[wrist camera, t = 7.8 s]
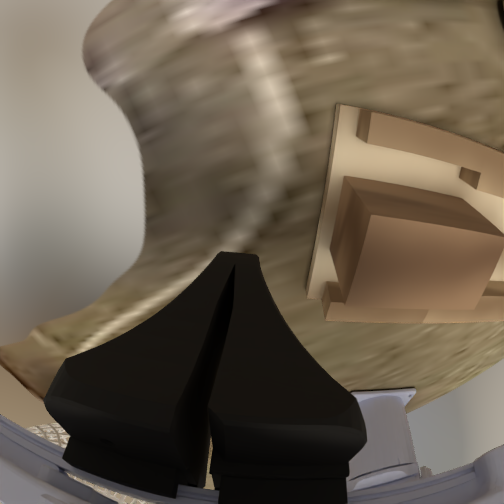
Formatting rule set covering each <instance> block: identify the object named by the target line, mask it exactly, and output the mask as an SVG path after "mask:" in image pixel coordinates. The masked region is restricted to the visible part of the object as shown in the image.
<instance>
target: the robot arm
mask: <svg viewBox="0 0 504 504" xmlns="http://www.w3.org/2000/svg"><path fill="white" fill-rule="evenodd" d="M415 393H416V389H415V388H410V389H398V390H384V391H364V392H352V393H350V392H348V391H347V390H346V389H345V388H344V387H342V386H341V385H340V384H339V383H338V382H337V381H335V380H334V379H333V378H332V377H331V376H330V375H329V374H328V373H327V372H326V371H325V370H324V369H323V368H322V367H321V366H320V365H319V364H318V363H317V362H316V361H315V359H314V358H313V357H312V356H311V355H310V354H309V352H308V351H307V350H306V349H305V348H304V347H303V345H302V344H301V343H300V342H299V340H298V339H297V338H296V336H295V335H294V334H293V332H292V331H291V329H290V328H289V326H288V325H287V323H286V322H285V320H284V318H283V317H282V315H281V313H280V312H279V310H278V308H277V306H276V304H275V302H274V300H273V298H272V296H271V294H270V292H269V289H268V287H267V285H266V282H265V280H264V277H263V274H262V271H261V267H260V262H259V257H258V256H257V255H256V254H245V253H234V252H223V251H221V252H219V253H218V254H217V255H216V257H215V258H214V259H213V260H212V261H211V263H210V264H209V265H208V266H207V267H206V268H205V270H204V271H203V272H202V273H201V274H200V275H199V276H198V277H197V278H196V279H195V280H194V281H193V282H192V283H191V284H190V285H189V286H188V287H187V288H186V289H185V290H184V291H183V292H182V293H181V294H179V295H178V296H177V297H176V298H175V299H174V300H173V301H171V302H170V303H169V304H168V305H167V306H165V307H164V308H163V309H161V310H160V311H159V312H157V313H156V314H155V315H153V316H152V317H150V318H149V319H147V320H146V321H144V322H143V323H141V324H139V325H138V326H136V327H135V328H133V329H131V330H130V331H128V332H126V333H124V334H122V335H120V336H119V337H117V338H115V339H113V340H110V341H108V342H106V343H104V344H102V345H100V346H98V347H95V348H93V349H90V350H88V351H85V352H82V353H80V354H77V355H75V356H72V357H69V358H66V359H65V361H64V362H63V364H62V365H61V367H60V369H59V370H58V372H57V374H56V376H55V378H54V380H53V382H52V384H51V386H50V388H49V390H48V392H47V394H46V396H45V398H44V400H43V401H44V404H45V407H46V409H47V411H48V412H49V414H50V415H51V416H52V417H53V418H54V419H55V421H56V422H57V423H58V424H59V425H60V426H61V427H62V428H63V429H64V430H65V431H66V432H67V433H68V434H69V435H70V438H69V441H68V443H67V446H66V449H65V448H63V447H61V446H58V445H56V444H54V443H52V442H50V441H48V440H46V439H44V438H42V437H40V436H38V435H36V434H34V433H32V432H30V431H28V430H26V429H25V428H23V427H21V426H19V425H17V424H16V423H14V422H12V421H10V420H9V419H7V418H6V417H4V416H2V415H1V414H0V502H1V503H2V504H119V503H118V502H117V501H114V500H112V499H110V498H108V497H106V496H104V495H102V494H100V493H98V492H97V491H95V490H94V489H93V488H91V487H89V486H87V485H85V484H83V483H81V482H79V481H77V480H75V479H73V478H71V477H69V476H68V474H67V473H69V474H71V475H73V476H75V477H78V478H80V479H82V480H85V481H88V482H90V483H92V484H95V485H97V486H100V487H103V488H106V489H108V490H111V491H114V492H117V493H120V494H123V495H126V496H130V497H133V498H136V499H140V500H143V501H147V502H151V503H155V504H504V444H503V445H501V446H499V447H496V448H494V449H492V450H490V451H488V452H486V453H485V454H483V455H482V456H480V457H479V458H477V459H476V460H475V461H474V462H473V463H470V464H468V465H464V466H462V467H459V468H456V469H453V470H450V471H447V472H443V473H440V474H437V475H433V476H432V471H431V469H429V468H426V466H423V467H421V468H420V470H421V478H420V473H419V467H418V464H417V461H416V456H415V451H414V446H413V442H412V437H411V432H410V428H409V424H408V420H407V415H406V411H405V405H406V404H407V403H408V402H409V401H410V399H411V398H412V397H413V396H414V394H415ZM210 438H212V445H213V451H212V457H211V464H210V471H209V473H210V474H212V478H213V483H214V487H215V490H210V489H203V487H205V483H206V473H207V464H208V455H209V446H210Z"/></svg>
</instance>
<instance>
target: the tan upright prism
mask: <svg viewBox="0 0 504 504" xmlns="http://www.w3.org/2000/svg"><path fill="white" fill-rule="evenodd" d="M503 249H504V234H503V233H502V232H501V231H500V230H499V229H498V228H497V227H496V226H495V225H493V224H492V223H491V222H490V221H489V220H488V219H487V218H485V217H484V216H483V215H482V214H481V213H480V212H478V211H477V210H476V209H475V208H474V207H472V206H471V205H470V204H469V203H467V202H466V201H465V200H464V199H462V198H459V197H455V196H451V195H447V194H442V193H438V192H433V191H429V190H424V189H419V188H414V187H409V186H404V185H399V184H393V183H388V182H382V181H376V180H370V179H364V178H358V177H351V176H344V178H343V183H342V189H341V194H340V200H339V205H338V210H337V215H336V220H335V225H334V230H333V235H332V239H331V244H330V249H329V250H330V253H331V257H332V260H333V264H334V267H335V271H336V274H337V278H338V282H339V286H340V289H341V293H342V297H343V301H344V305H345V306H350V307H371V308H397V309H442V310H474V309H475V307H476V305H477V303H478V301H479V300H480V298H481V296H482V294H483V292H484V290H485V288H486V286H487V284H488V282H489V280H490V278H491V276H492V274H493V272H494V270H495V268H496V265H497V263H498V261H499V259H500V256H501V254H502V252H503Z"/></svg>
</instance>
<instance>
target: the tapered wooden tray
mask: <svg viewBox="0 0 504 504" xmlns="http://www.w3.org/2000/svg"><path fill="white" fill-rule="evenodd" d="M344 176H351V177H358V178H364V179H370V180H376V181H382V182H388V183H393V184H399V185H404V186H409V187H414V188H419V189H424V190H429V191H433V192H438V193H442V194H447V195H451V196H455V197H459V198H462V199H464V200H465V201H466V202H467V203H469V204H470V205H471V206H472V207H474V208H475V209H476V210H477V211H478V212H480V213H481V214H482V215H483V216H484V217H485V218H487V219H488V220H489V221H490V222H491V223H492V224H493V225H495V226H496V227H497V228H498V229H499V230H500V231H501V232H502V233H503V234H504V153H503V152H501V151H499V150H496V149H494V148H492V147H489V146H487V145H484V144H482V143H479V142H477V141H474V140H472V139H469V138H466V137H463V136H461V135H458V134H455V133H452V132H449V131H446V130H443V129H440V128H437V127H434V126H430V125H427V124H424V123H420V122H417V121H413V120H410V119H406V118H402V117H398V116H394V115H390V114H386V113H382V112H377V111H373V110H368V109H363V108H358V107H353V106H348V105H342V104H336V112H335V120H334V128H333V136H332V143H331V150H330V157H329V164H328V171H327V177H326V183H325V190H324V196H323V202H322V208H321V213H320V219H319V224H318V230H317V235H316V241H315V246H314V251H313V256H312V261H311V266H310V271H309V276H308V281H307V285H306V295H307V298H308V299H322V304H323V310H324V316H325V321H343V322H370V323H466V322H490V321H504V249H503V252H502V254H501V256H500V259H499V261H498V263H497V265H496V268H495V270H494V272H493V274H492V276H491V278H490V280H489V282H488V284H487V286H486V288H485V290H484V292H483V294H482V296H481V298H480V300H479V301H478V303H477V305H476V307H475V309H474V310H442V309H397V308H371V307H350V306H345V305H344V301H343V297H342V293H341V289H340V286H339V282H338V278H337V274H336V271H335V267H334V264H333V260H332V257H331V253H330V250H329V249H330V244H331V239H332V235H333V230H334V225H335V220H336V215H337V210H338V205H339V200H340V194H341V189H342V183H343V178H344Z"/></svg>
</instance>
